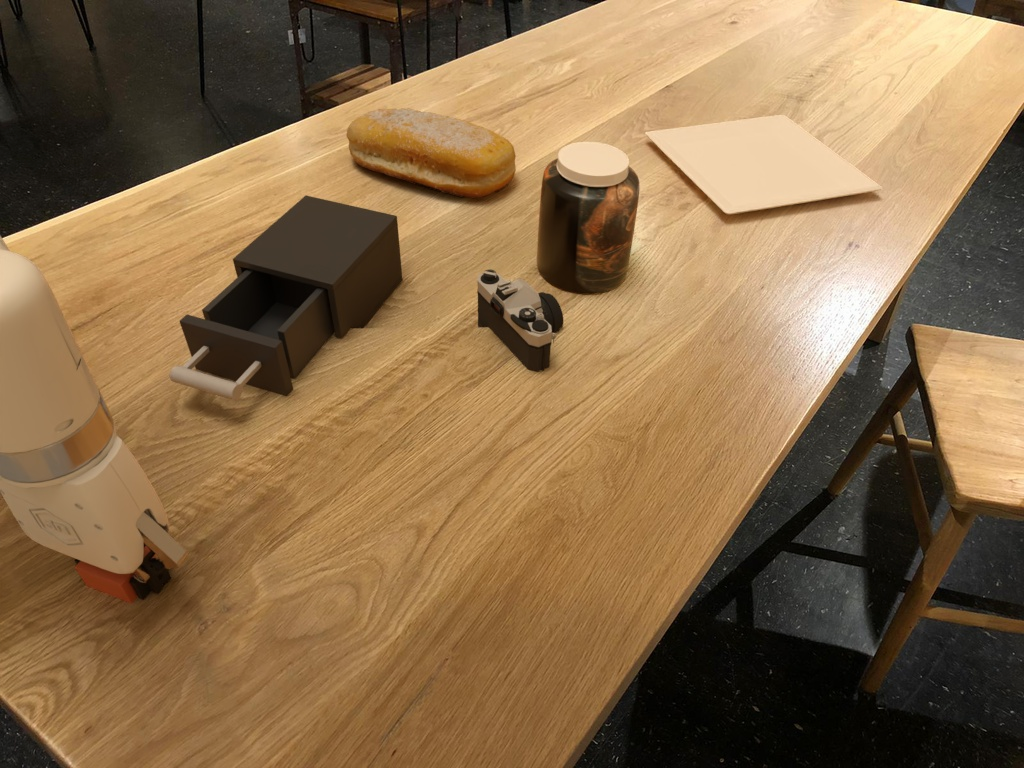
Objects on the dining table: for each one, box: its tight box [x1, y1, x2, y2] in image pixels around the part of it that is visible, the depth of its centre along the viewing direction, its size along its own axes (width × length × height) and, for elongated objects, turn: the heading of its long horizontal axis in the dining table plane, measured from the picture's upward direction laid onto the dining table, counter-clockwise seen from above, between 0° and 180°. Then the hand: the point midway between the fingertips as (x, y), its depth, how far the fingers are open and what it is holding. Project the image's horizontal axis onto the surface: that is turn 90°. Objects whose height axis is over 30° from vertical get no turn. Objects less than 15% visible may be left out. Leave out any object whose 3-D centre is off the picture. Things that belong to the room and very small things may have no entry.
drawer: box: [169, 268, 335, 401], centre depth 79 cm, size 18×11×7 cm, turn 160°
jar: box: [536, 141, 640, 295], centre depth 92 cm, size 12×12×15 cm
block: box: [74, 546, 150, 604], centre depth 61 cm, size 4×4×4 cm
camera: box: [476, 269, 564, 373], centre depth 84 cm, size 13×8×9 cm, turn 34°
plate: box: [644, 114, 883, 216], centre depth 117 cm, size 26×26×2 cm
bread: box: [346, 107, 517, 199], centre depth 112 cm, size 13×26×8 cm, turn 64°
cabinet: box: [232, 195, 403, 340], centre depth 88 cm, size 15×12×9 cm
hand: (133, 582), depth 62 cm, fingers closed on block, 4 cm apart
